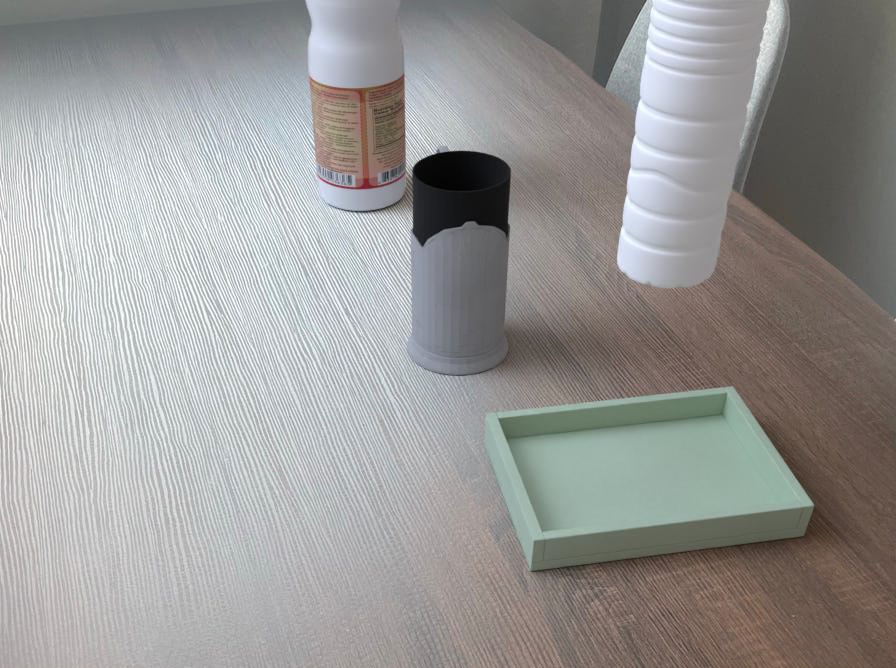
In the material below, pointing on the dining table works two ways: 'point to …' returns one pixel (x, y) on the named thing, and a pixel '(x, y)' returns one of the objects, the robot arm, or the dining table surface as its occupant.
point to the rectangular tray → (641, 478)
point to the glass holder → (459, 261)
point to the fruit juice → (358, 102)
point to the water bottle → (688, 137)
